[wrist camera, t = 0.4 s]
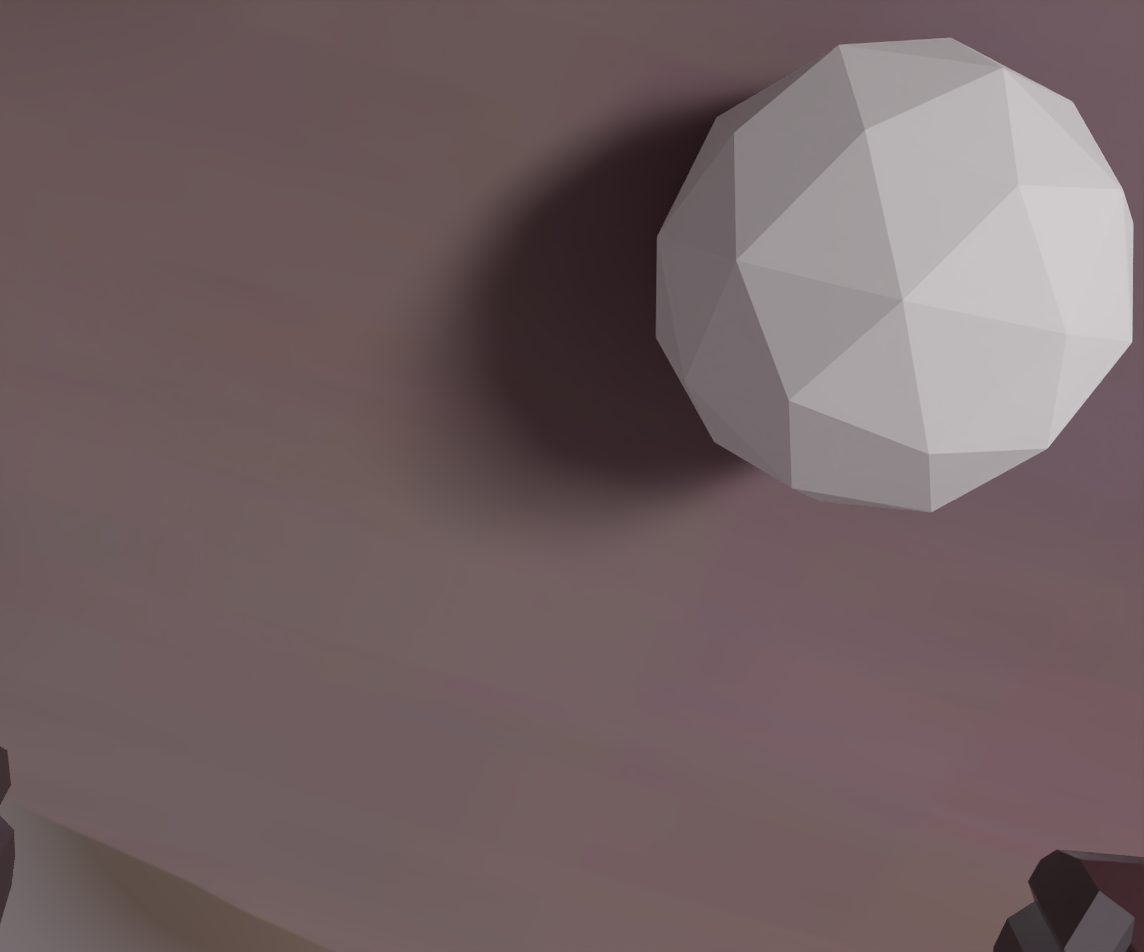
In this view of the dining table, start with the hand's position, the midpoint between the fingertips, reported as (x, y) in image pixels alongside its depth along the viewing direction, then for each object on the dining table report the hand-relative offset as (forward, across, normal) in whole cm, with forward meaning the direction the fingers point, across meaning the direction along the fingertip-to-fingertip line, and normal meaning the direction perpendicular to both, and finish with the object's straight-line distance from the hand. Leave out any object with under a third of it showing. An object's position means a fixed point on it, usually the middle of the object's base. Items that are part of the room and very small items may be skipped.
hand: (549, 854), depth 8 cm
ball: (+47, -17, +5) cm, 50 cm away
